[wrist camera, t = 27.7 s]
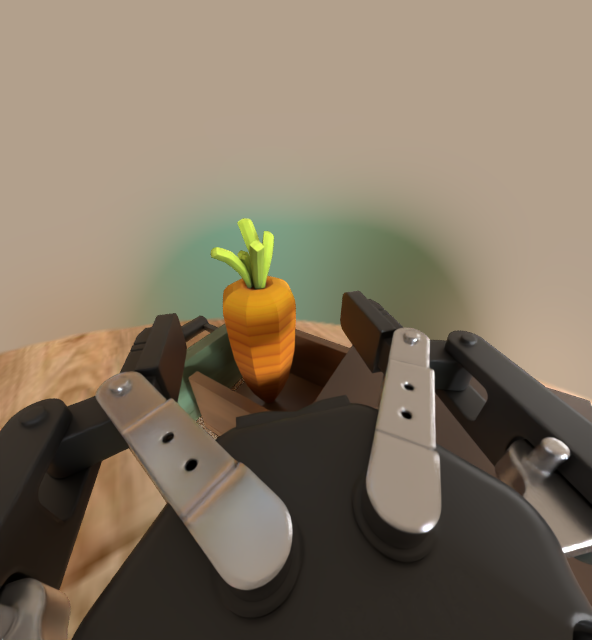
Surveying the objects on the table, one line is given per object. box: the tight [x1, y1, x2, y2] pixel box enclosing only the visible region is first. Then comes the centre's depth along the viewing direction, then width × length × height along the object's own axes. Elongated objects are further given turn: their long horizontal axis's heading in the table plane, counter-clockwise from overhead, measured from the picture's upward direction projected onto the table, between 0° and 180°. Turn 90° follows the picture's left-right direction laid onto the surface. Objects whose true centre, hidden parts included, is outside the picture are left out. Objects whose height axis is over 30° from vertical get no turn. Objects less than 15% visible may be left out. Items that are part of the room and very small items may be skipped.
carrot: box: [211, 218, 296, 403], centre depth 18 cm, size 5×5×15 cm
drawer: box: [178, 316, 350, 436], centre depth 22 cm, size 18×10×6 cm, turn 58°
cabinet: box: [314, 345, 592, 606], centre depth 16 cm, size 14×12×8 cm
